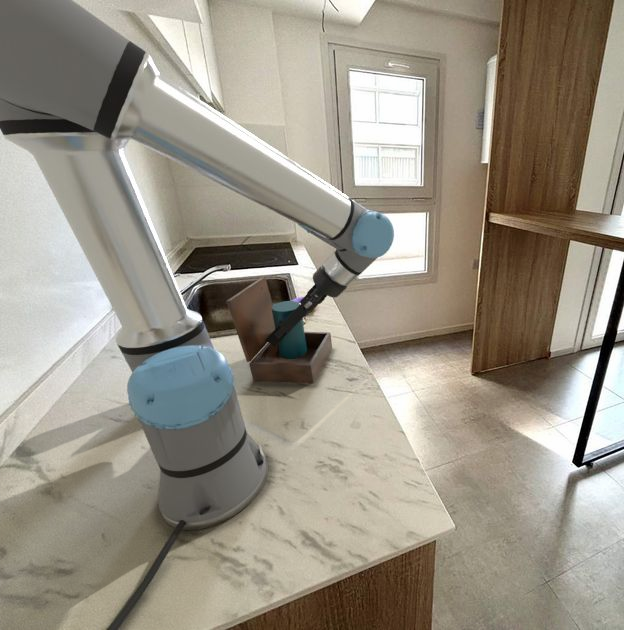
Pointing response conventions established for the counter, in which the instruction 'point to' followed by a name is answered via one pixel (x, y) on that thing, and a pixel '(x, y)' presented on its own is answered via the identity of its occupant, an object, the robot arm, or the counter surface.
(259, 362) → the chest
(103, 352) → the counter surface
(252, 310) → the lid
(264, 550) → the counter surface
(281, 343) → the can
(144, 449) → the counter surface
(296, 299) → the donut
